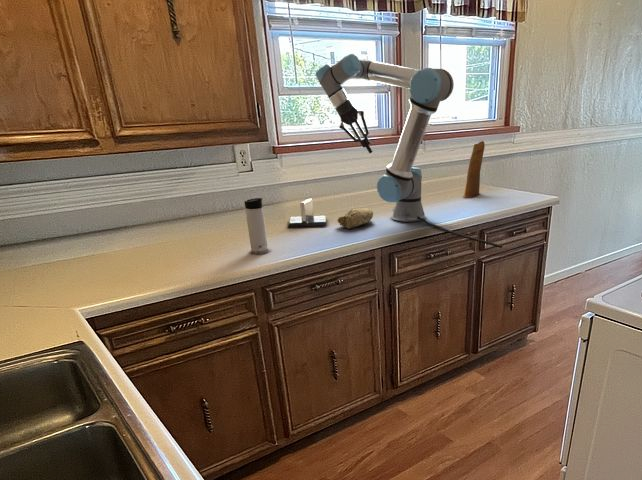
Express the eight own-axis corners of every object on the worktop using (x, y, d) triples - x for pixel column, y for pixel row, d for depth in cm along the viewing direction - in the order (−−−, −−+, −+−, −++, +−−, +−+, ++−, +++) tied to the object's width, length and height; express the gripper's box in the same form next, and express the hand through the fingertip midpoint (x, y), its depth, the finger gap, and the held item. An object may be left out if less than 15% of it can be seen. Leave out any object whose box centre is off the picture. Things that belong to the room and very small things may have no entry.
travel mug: (264, 254, 195) (257, 200, 185) (248, 253, 196) (240, 199, 186) (271, 249, 200) (265, 196, 191) (255, 248, 201) (248, 196, 192)
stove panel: (325, 219, 243) (325, 214, 242) (326, 226, 231) (325, 222, 230) (291, 220, 241) (290, 215, 240) (289, 228, 229) (289, 223, 228)
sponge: (353, 233, 225) (384, 216, 236) (347, 216, 222) (379, 199, 232) (335, 233, 234) (365, 216, 245) (329, 217, 231) (360, 200, 241)
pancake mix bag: (485, 193, 297) (489, 140, 283) (471, 199, 282) (474, 144, 269) (474, 192, 300) (477, 140, 286) (459, 198, 285) (462, 143, 272)
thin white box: (309, 216, 240) (308, 198, 236) (313, 216, 239) (312, 198, 235) (301, 221, 231) (299, 202, 227) (305, 221, 231) (304, 202, 227)
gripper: (354, 93, 226) (383, 143, 236) (329, 110, 229) (359, 159, 239) (354, 94, 219) (383, 145, 230) (328, 112, 222) (359, 161, 233)
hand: (371, 152), depth 235 cm, fingers closed
